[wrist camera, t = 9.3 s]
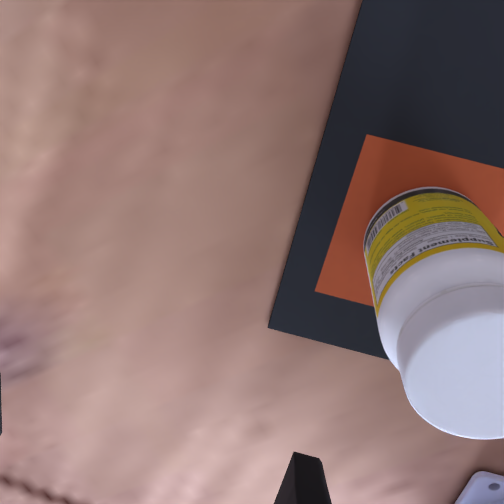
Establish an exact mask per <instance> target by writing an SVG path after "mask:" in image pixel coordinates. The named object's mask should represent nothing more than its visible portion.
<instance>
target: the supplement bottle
mask: <svg viewBox="0 0 504 504" xmlns="http://www.w3.org/2000/svg"><path fill="white" fill-rule="evenodd" d="M363 247H364V256H365V261H366V266H367V271H368V276H369V282H370V287H371V292H372V297H373V303H374V308H375V313H376V318H377V324H378V330H379V334H380V338H381V342H382V345H383V348H384V350H385V352H386V354H387V356H388V358H389V359H390V360H391V362H392V363H393V364H394V366H395V367H396V368H397V369H398V370H399V371H400V374H401V378H402V382H403V386H404V389H405V392H406V395H407V398H408V400H409V402H410V404H411V405H412V407H413V408H414V409H415V411H416V412H417V413H418V414H419V415H420V416H421V417H422V418H423V419H424V420H425V421H427V422H428V423H430V424H431V425H432V426H434V427H436V428H438V429H440V430H442V431H444V432H447V433H449V434H452V435H455V436H460V437H465V438H470V439H499V438H504V237H503V236H502V234H501V233H500V232H499V231H498V229H497V228H496V227H495V226H494V225H493V224H492V223H491V222H490V221H489V219H488V218H487V217H486V216H485V215H484V214H483V212H482V211H481V210H480V209H479V208H478V207H477V206H476V205H475V204H474V203H473V202H472V201H471V200H470V199H469V198H467V197H466V196H464V195H462V194H460V193H458V192H456V191H453V190H450V189H446V188H442V187H420V188H415V189H412V190H408V191H405V192H403V193H401V194H399V195H396V196H395V197H393V198H391V199H390V200H388V201H387V202H386V203H385V204H383V205H382V206H381V207H380V208H379V209H378V210H377V212H376V213H375V214H374V216H373V217H372V219H371V220H370V222H369V224H368V227H367V229H366V232H365V237H364V245H363Z"/></svg>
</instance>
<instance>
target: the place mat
mask: <svg viewBox="0 0 504 504" xmlns="http://www.w3.org/2000/svg"><path fill="white" fill-rule="evenodd" d="M420 187H442V188H446V189H450V190H453V191H456V192H458V193H460V194H462V195H464V196H466V197H467V198H469V199H470V200H471V201H472V202H473V203H474V204H475V205H476V206H477V207H478V208H479V209H480V210H481V211H482V212H483V214H484V215H485V216H486V217H487V218H488V219H489V221H490V222H491V223H492V224H493V225H494V226H495V227H496V228H497V229H498V231H499V232H500V233H501V234H502V236H503V237H504V0H363V1H362V4H361V8H360V11H359V14H358V18H357V21H356V25H355V28H354V32H353V35H352V39H351V42H350V45H349V49H348V52H347V56H346V59H345V63H344V66H343V70H342V73H341V76H340V80H339V83H338V87H337V90H336V94H335V97H334V101H333V104H332V107H331V111H330V114H329V118H328V121H327V125H326V128H325V132H324V135H323V138H322V142H321V145H320V149H319V152H318V156H317V159H316V163H315V166H314V170H313V173H312V176H311V180H310V183H309V187H308V190H307V194H306V197H305V201H304V204H303V207H302V211H301V214H300V218H299V221H298V225H297V228H296V232H295V235H294V238H293V242H292V245H291V249H290V252H289V256H288V259H287V263H286V266H285V269H284V273H283V276H282V280H281V283H280V287H279V290H278V294H277V297H276V300H275V304H274V307H273V311H272V314H271V318H270V321H269V325H268V328H270V329H274V330H278V331H282V332H285V333H289V334H293V335H297V336H301V337H304V338H308V339H312V340H316V341H320V342H323V343H327V344H331V345H335V346H339V347H342V348H346V349H350V350H354V351H358V352H361V353H365V354H369V355H373V356H377V357H380V358H384V359H388V360H390V359H389V358H388V356H387V354H386V352H385V350H384V348H383V345H382V342H381V338H380V334H379V330H378V324H377V318H376V313H375V308H374V303H373V297H372V292H371V287H370V282H369V276H368V271H367V266H366V261H365V256H364V247H363V245H364V237H365V232H366V229H367V227H368V224H369V222H370V220H371V219H372V217H373V216H374V214H375V213H376V212H377V210H378V209H379V208H380V207H381V206H382V205H383V204H385V203H386V202H387V201H388V200H390V199H391V198H393V197H395V196H396V195H399V194H401V193H403V192H405V191H408V190H412V189H415V188H420Z"/></svg>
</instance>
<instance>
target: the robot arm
mask: <svg viewBox="0 0 504 504" xmlns="http://www.w3.org/2000/svg"><path fill="white" fill-rule="evenodd" d="M1 433H2V413H1V375H0V435H1ZM492 483H493V484H492ZM274 504H332V503H331V499H330V495H329V492H328V487H327V483H326V479H325V475H324V470H323V465H322V462H321V461H320V459H319V458H316V457H312V456H308V455H305V454H301V453H297V452H294V453H293V455H292V458H291V460H290V463H289V466H288V468H287V471H286V473H285V476H284V479H283V481H282V484H281V487H280V489H279V492H278V494H277V497H276V500H275V502H274ZM455 504H504V476H501V475H497V474H493V473H489V472H485V471H479V472H477V473H475V474H474V475H473V476H472V477H471V479H470V481H469V482H468V484H467V485H466V487H465V488H464V490H463V491H462V493H461V494H460V496H459V497H458V499H457V501H456V502H455Z"/></svg>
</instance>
